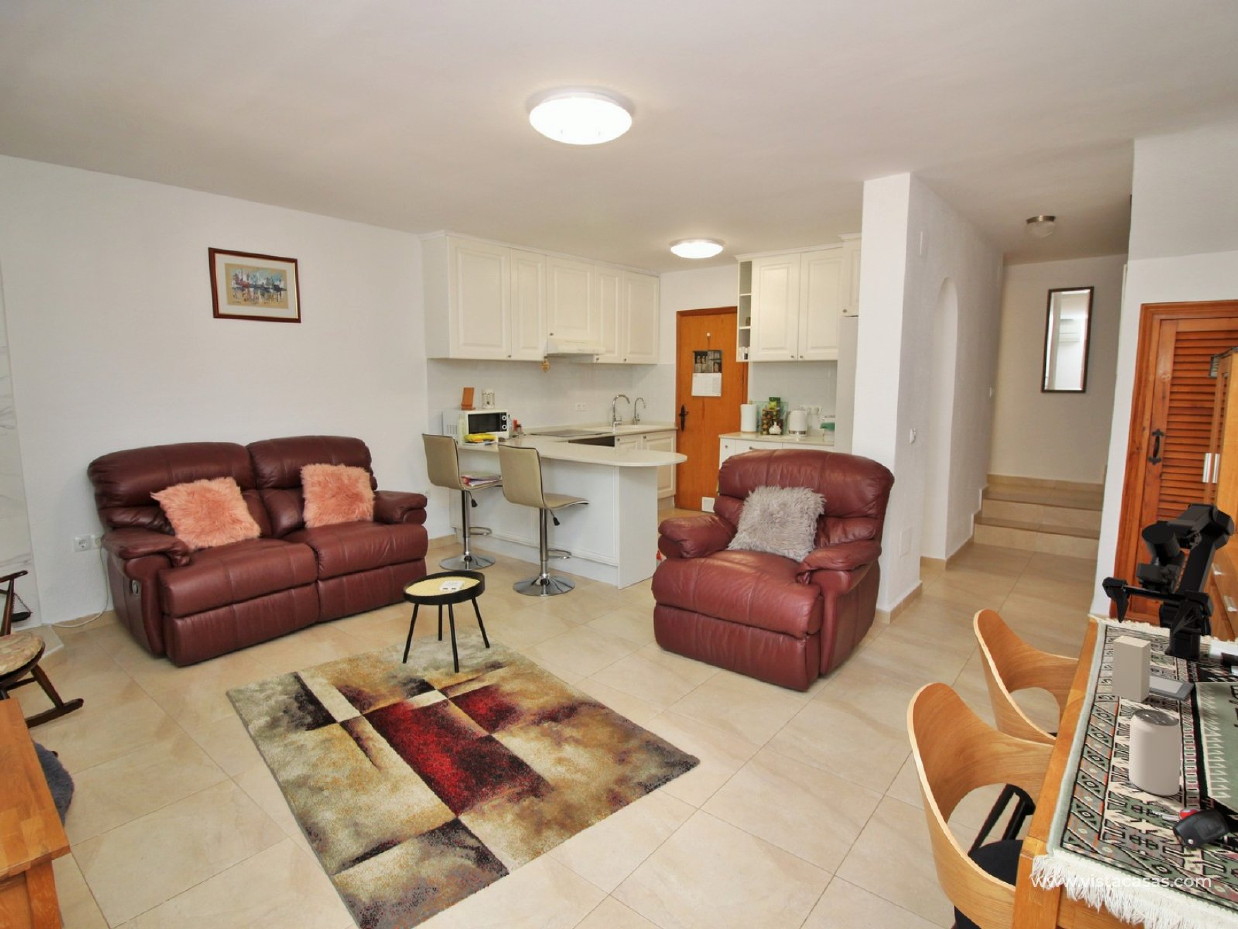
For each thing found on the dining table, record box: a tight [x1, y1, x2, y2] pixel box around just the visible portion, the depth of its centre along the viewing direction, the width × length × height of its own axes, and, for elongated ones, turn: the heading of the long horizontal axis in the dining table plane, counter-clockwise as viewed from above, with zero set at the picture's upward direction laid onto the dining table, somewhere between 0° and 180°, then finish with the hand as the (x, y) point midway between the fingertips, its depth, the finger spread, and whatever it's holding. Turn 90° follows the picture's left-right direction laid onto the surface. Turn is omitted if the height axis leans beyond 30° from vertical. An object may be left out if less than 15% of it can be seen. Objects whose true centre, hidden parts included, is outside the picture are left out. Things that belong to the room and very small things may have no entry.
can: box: [1128, 708, 1182, 797], centre depth 105 cm, size 6×6×12 cm
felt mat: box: [1149, 673, 1195, 702], centre depth 140 cm, size 10×10×1 cm
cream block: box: [1111, 634, 1152, 704], centre depth 136 cm, size 5×5×12 cm
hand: (1144, 627), depth 140 cm, fingers open, 9 cm apart
